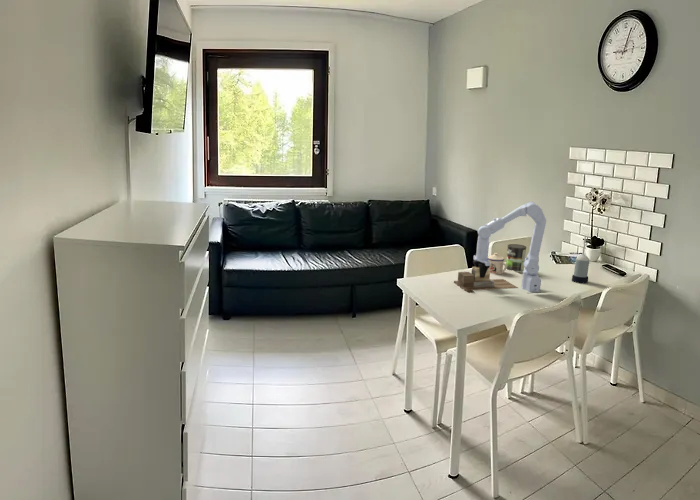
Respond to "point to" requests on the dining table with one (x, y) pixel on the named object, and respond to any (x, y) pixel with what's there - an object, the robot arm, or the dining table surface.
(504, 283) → the post board
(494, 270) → the teacup with lid
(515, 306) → the dining table surface
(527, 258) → the robot arm
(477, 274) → the beige pillar with cap
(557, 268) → the dining table surface
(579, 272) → the humidifier
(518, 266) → the coffee can
